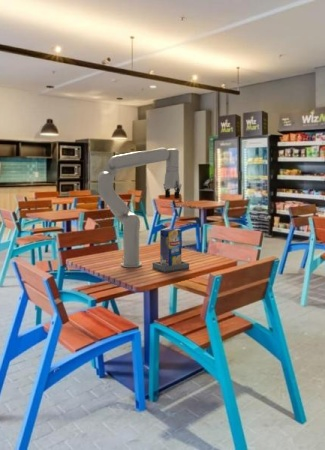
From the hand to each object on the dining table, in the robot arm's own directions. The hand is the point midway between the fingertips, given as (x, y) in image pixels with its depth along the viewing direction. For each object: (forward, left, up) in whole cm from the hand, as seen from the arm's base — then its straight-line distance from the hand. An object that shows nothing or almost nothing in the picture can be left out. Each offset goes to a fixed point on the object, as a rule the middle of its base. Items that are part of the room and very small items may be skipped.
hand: (172, 198), depth 256 cm
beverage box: (+12, -9, -40) cm, 42 cm away
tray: (+12, -9, -40) cm, 43 cm away
